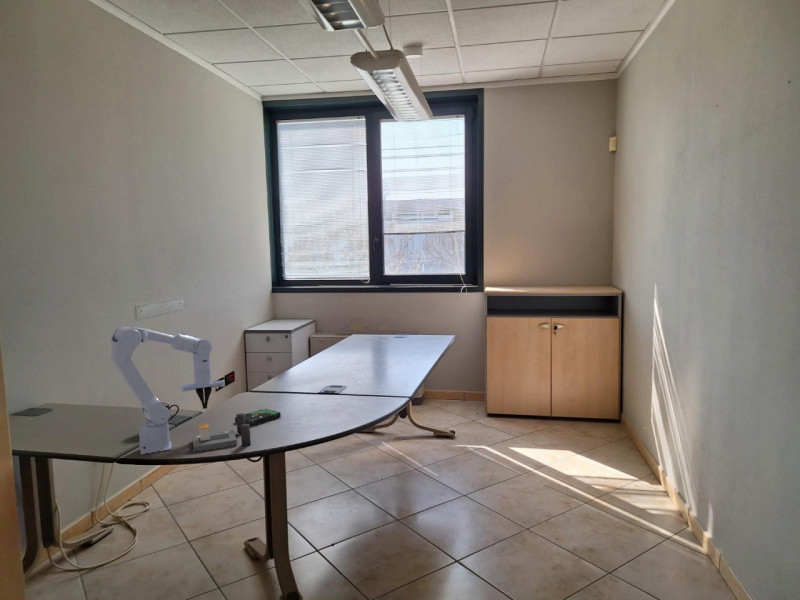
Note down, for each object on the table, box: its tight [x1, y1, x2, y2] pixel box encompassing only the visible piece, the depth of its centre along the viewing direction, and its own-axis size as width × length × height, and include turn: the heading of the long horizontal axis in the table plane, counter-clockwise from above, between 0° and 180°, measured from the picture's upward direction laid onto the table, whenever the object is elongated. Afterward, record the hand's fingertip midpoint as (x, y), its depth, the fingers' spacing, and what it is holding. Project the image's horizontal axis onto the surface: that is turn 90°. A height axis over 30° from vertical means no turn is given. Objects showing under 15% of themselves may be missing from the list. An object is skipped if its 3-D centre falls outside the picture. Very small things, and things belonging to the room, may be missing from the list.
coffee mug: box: [160, 401, 180, 423], centre depth 205 cm, size 12×9×10 cm
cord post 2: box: [240, 424, 252, 447], centre depth 186 cm, size 3×3×7 cm
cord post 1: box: [235, 412, 246, 435], centre depth 199 cm, size 3×3×7 cm
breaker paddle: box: [198, 423, 210, 441], centre depth 187 cm, size 3×4×4 cm
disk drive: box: [234, 408, 282, 428], centre depth 214 cm, size 10×3×15 cm
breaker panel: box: [191, 429, 238, 452], centre depth 189 cm, size 14×12×2 cm
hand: (204, 408), depth 196 cm, fingers closed
